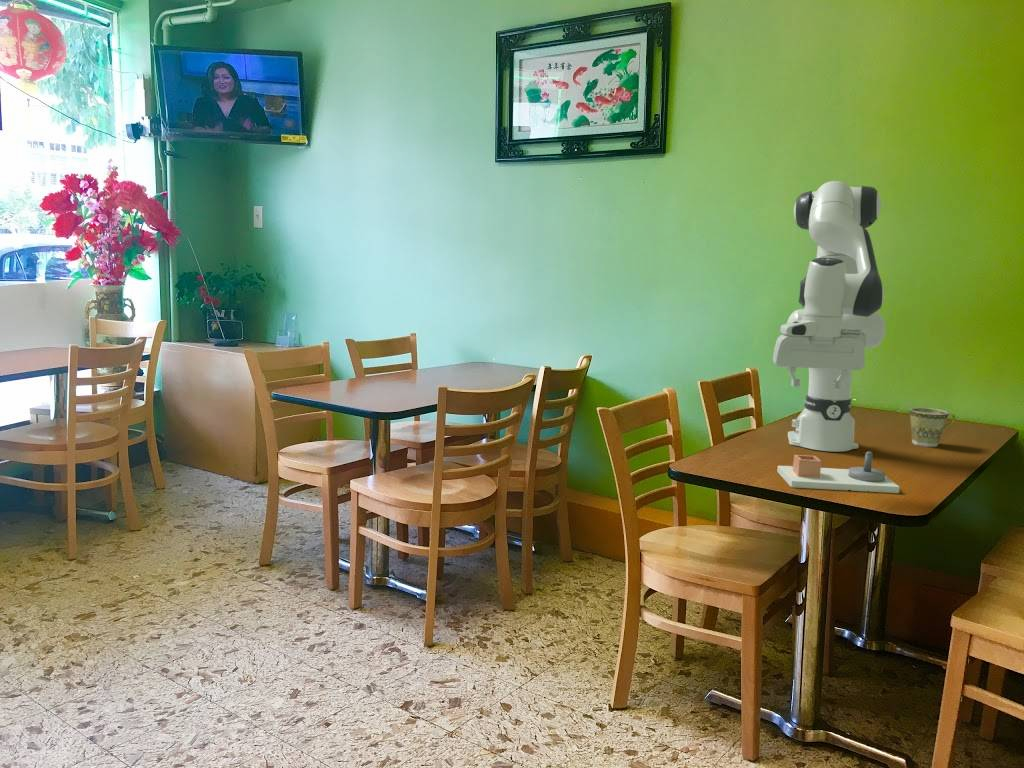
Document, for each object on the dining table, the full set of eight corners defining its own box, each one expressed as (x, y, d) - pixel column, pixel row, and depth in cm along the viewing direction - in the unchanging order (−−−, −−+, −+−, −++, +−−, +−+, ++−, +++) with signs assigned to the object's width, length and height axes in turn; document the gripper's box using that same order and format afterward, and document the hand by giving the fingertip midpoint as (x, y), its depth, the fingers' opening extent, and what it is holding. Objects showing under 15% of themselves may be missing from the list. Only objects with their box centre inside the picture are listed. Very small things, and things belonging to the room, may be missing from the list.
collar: (792, 470, 196) (794, 454, 196) (813, 471, 196) (815, 455, 195) (798, 476, 191) (799, 459, 191) (819, 477, 191) (821, 461, 190)
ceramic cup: (917, 448, 232) (921, 413, 230) (899, 440, 242) (903, 407, 240) (961, 449, 233) (965, 414, 231) (941, 440, 242) (945, 408, 241)
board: (777, 471, 201) (779, 440, 200) (877, 476, 199) (880, 445, 198) (791, 487, 187) (794, 454, 186) (898, 493, 185) (902, 460, 184)
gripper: (862, 329, 190) (857, 387, 192) (773, 325, 192) (769, 383, 194) (872, 331, 184) (866, 391, 186) (780, 327, 186) (775, 387, 188)
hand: (815, 387), depth 190 cm, fingers open, 8 cm apart
